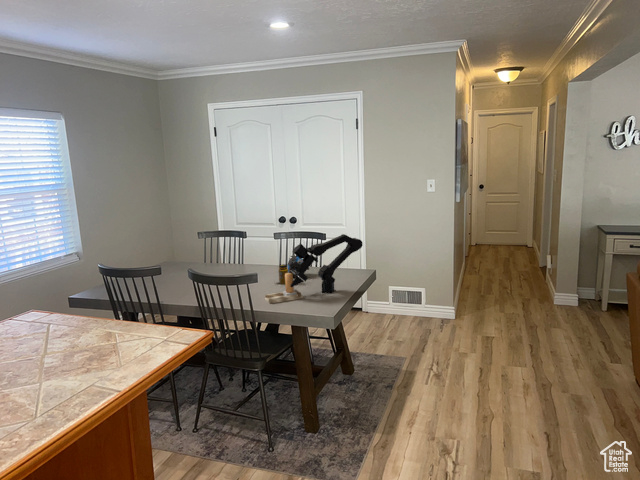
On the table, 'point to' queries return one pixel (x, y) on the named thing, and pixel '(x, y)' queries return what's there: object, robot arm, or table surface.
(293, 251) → the robot arm
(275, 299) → the track
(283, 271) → the condiment
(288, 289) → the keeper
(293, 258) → the alarm clock
